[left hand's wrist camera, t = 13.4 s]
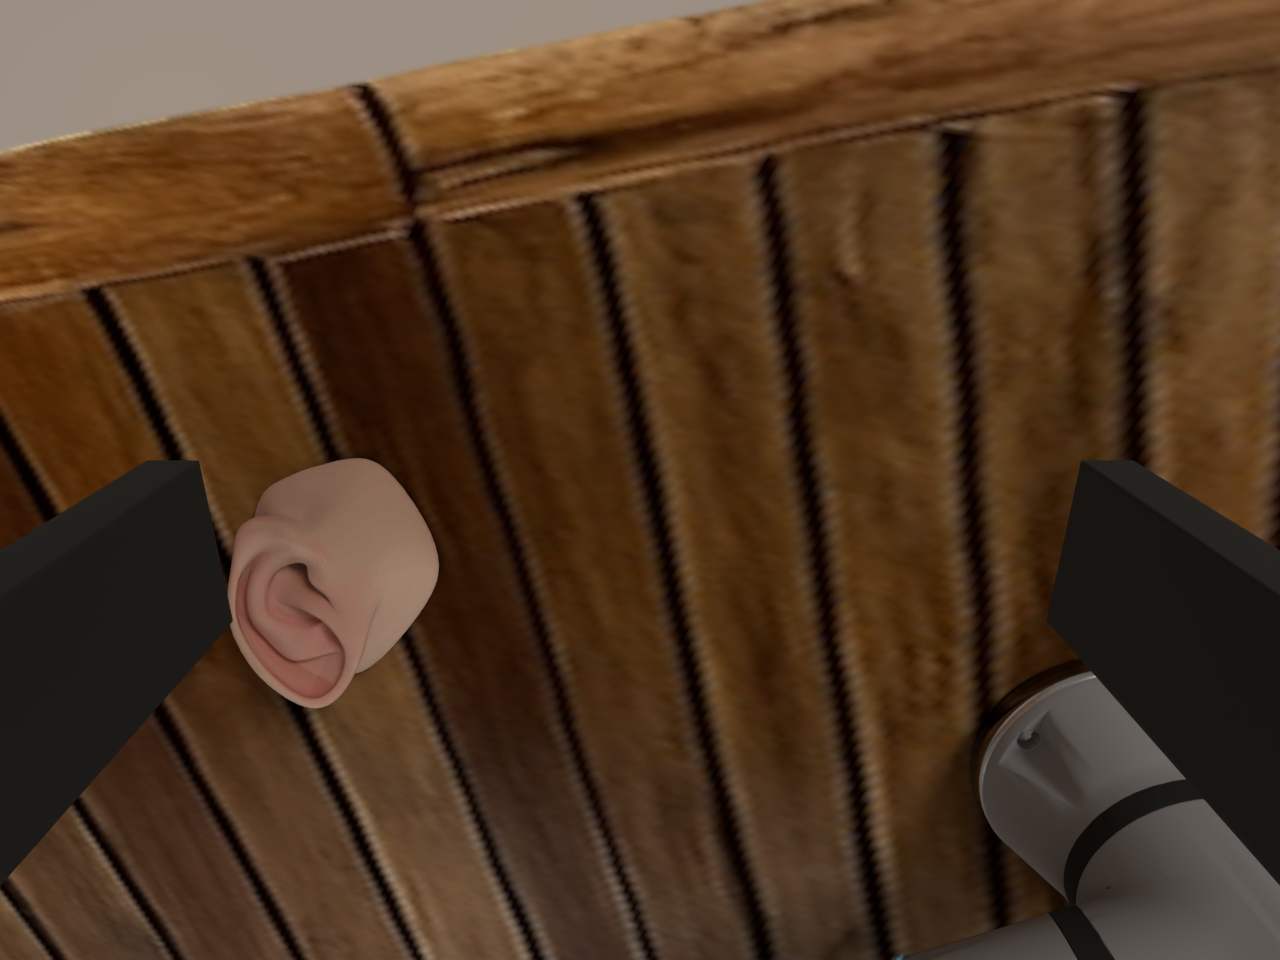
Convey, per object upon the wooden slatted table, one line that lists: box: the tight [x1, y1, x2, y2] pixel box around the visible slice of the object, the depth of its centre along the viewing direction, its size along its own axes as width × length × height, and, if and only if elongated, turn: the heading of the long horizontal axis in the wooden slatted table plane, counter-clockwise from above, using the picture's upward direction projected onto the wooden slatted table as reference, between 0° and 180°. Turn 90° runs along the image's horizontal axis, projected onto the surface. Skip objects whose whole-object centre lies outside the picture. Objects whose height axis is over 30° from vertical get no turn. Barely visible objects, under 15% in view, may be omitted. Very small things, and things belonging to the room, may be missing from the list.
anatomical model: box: [227, 458, 439, 708], centre depth 45 cm, size 13×4×12 cm
